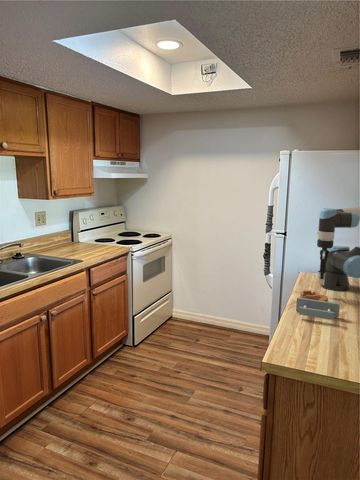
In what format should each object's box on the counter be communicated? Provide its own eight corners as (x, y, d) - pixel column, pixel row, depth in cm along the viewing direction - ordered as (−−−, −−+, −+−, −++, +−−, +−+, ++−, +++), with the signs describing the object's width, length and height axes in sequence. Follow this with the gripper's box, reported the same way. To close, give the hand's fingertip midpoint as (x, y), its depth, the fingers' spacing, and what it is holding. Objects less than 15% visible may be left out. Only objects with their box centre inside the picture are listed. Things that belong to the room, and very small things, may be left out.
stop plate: (296, 309, 167) (297, 297, 166) (338, 316, 160) (339, 303, 158) (293, 316, 159) (294, 303, 158) (338, 324, 152) (339, 310, 150)
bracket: (312, 311, 167) (313, 297, 165) (296, 306, 173) (297, 292, 171) (330, 302, 178) (331, 289, 177) (314, 297, 184) (315, 284, 183)
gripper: (318, 236, 188) (314, 280, 193) (316, 240, 177) (312, 287, 181) (334, 237, 185) (329, 282, 190) (333, 242, 173) (328, 289, 178)
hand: (321, 284), depth 185 cm, fingers closed
